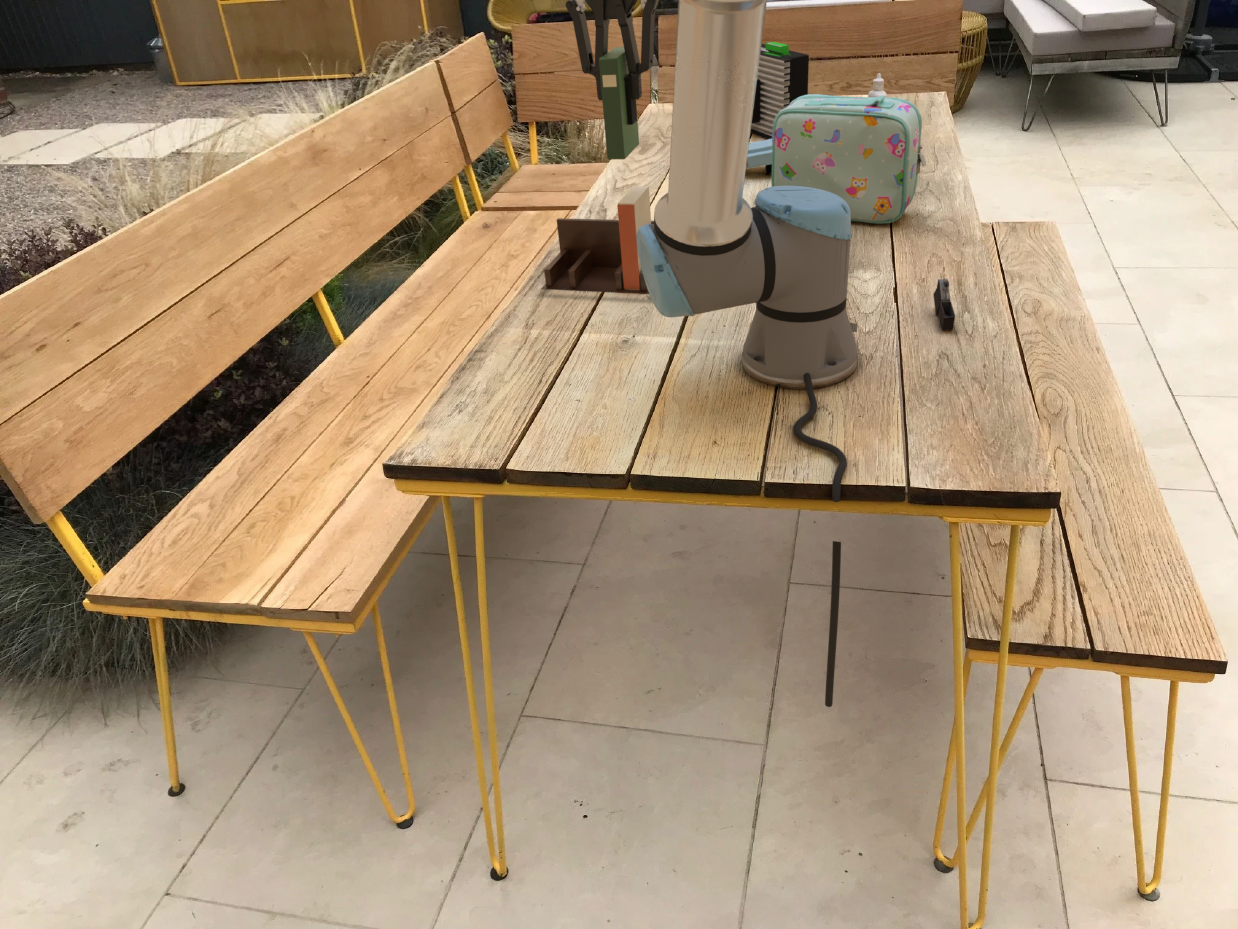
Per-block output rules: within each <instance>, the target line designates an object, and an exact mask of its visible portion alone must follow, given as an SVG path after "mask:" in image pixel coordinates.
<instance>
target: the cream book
mask: <svg viewBox="0 0 1238 929" xmlns="http://www.w3.org/2000/svg"><path fill="white" fill-rule="evenodd" d="M650 198H651V197H650V186H649V185H632V187H631V188H629V190H628V191H627V192H626V194H624V195H623V197H621V199H619V201H618V202H617V205H616V206H617V220H619V232H620V245H621V257H622V270H623V282H624V289H625V290H641V277H640V273H641V272H642V268H641V264H640V260H639V255H638V249H637V231H638V229H639V228H640V227H641V226H644V225H645V224H651V221H652V216H651V215H652V214H651V200H650Z"/></svg>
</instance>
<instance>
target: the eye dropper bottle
mask: <svg viewBox="0 0 1238 929" xmlns="http://www.w3.org/2000/svg"><path fill="white" fill-rule="evenodd" d="M884 86H885V78H882V73H880V72H878V73H877V74H876V78H874V79H873V81H872V90H870V91H868V94H867V97H879V96H881V95H883V96H884V97H888V94H887V92H886V91H885V90H884V88H885V87H884Z"/></svg>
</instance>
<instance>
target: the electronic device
mask: <svg viewBox="0 0 1238 929" xmlns="http://www.w3.org/2000/svg"><path fill="white" fill-rule="evenodd" d="M809 63H810V55H809V54H807V53H802V52H799V51H795V50H790V45H789V44H784V43H781V42H776V41H769V42H766V43H765V44H764V43H762V44H761V52H760V60H759V68H758V76H757V84H756V92H755V100H754V108H753V116H752V124H751V132H750V134H752V135H755V136H757V137H760V138H762V139H764V140H768V139H772V130H773V123H774V119H775V117H776V115H777V114H778V113H779V112H780V111H781V110H783V109H784V108H786V107H788V106H789V104H790V103H791V102H792V101H793V100H795V99H796V98H798V97H801V96H804V95H809V69H810V67H809V65H810V64H809Z"/></svg>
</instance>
